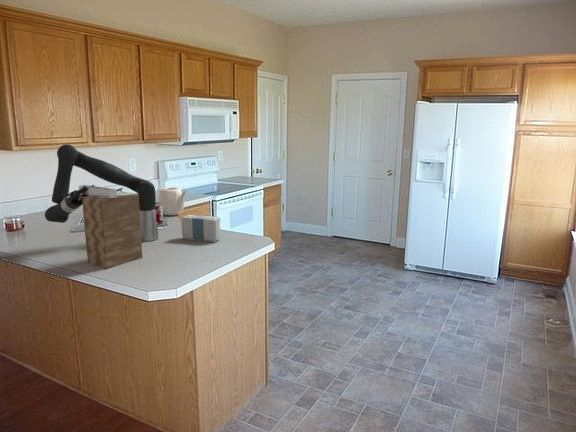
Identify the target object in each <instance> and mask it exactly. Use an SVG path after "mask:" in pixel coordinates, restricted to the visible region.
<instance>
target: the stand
mask: <svg viewBox="0 0 576 432" xmlns="http://www.w3.org/2000/svg"><path fill="white" fill-rule="evenodd" d="M116 196H117V197H113V198H106V197H100V196H93V195H87V196H85V197H82V202H83V204H82V211H83V223H84V224H83V225H84V234H85V246H86V247H85V248H86V256H87V258H86V259H87V264H88V265H92V266H95V267H98V268H99V267H100V268H103V269H106V270H109V269H111V268H115V267H118V266H120V265H124V264H127V263H130V262H134V261H136V260H140V259H143V244H142V243H143V241H141V225H140V209H139V194H138V193H136V192H135V193H133V192H127V191H126V192H125V191H119V190H118V191H117V190H116Z"/></svg>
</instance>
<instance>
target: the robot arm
mask: <svg viewBox="0 0 576 432" xmlns="http://www.w3.org/2000/svg"><path fill="white" fill-rule="evenodd" d="M56 156H57V164H58V165H57V171H56V175H55V182H54V185H53V190H52V196H51V202H52V203H54V205H51V206H49V207H47V209H46V210H45V213H44V218H45V220H46V221H48V222H50V223H51V222H52V223H61V224H63V223H64V224H65V223H66V222H68V220H69V217H70V216H69V215H71V214H72V213H73V212H75V211H76V210H78V209H79V208H80V207H81V206H83V202H82V197H85V196H87V194H83V193H85V192H86V191H87V187H86V186H84V187H83V188H81V189H79V188H78V189H75V190H73V191H72V192H70V184H71V176H72V172H73V168H74V167H76V168H80V169H82V170H84V171H86V172H88V173H90V175H93V176H95V177H97V178H99V179H101V180H103V181H106V182H108V183H111V184H114V185H117V186H121V187H125V188H127V189H129V190H130V191H131V190H132V191H133V192H135V194H139V209H140V225H141V242H153V241H156V240H158V239H159V230H158V228H159V227H158V226H159V224H158V223H157V222H156V211H155V205H156V204H157V197H156V187H155V185H154V184H153V182H151V181H149V180H147V179H144V178H140V177H138V176H135V175H133V174H131V173H128V172H127V171H125V170H124V169H122V168H120V167H118V166H116V165H115V164H111V163H110V162H109V161H108V162H107V161H105V160H101V159H98V158H95V157H92V156H90V155H87V154H84V153H83V152H81V151H79V150H78V149H77V148H76V147H74V145H71V144H69V143H68V144H67V143H66V144H63V145H61V146H60V147H58V149H57V150H56ZM91 186H95V185H94V184H92V185H91ZM69 192H70V193H69Z"/></svg>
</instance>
